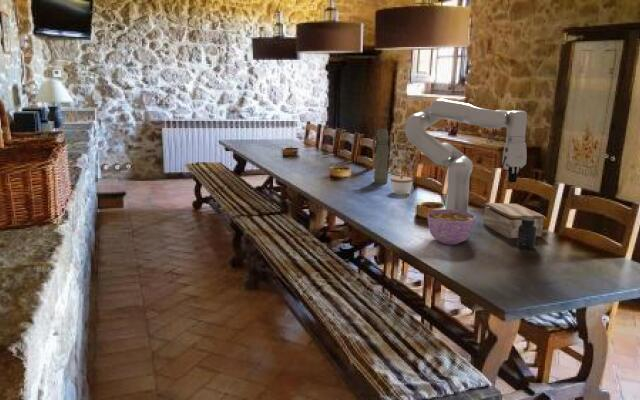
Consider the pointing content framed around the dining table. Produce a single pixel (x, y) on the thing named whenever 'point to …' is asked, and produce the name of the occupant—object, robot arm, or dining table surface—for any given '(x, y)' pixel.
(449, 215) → the bowl of food
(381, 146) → the thermos
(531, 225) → the supplement bottle
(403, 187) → the lidded bowl
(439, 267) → the dining table surface
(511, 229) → the box
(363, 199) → the dining table surface
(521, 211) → the lid
